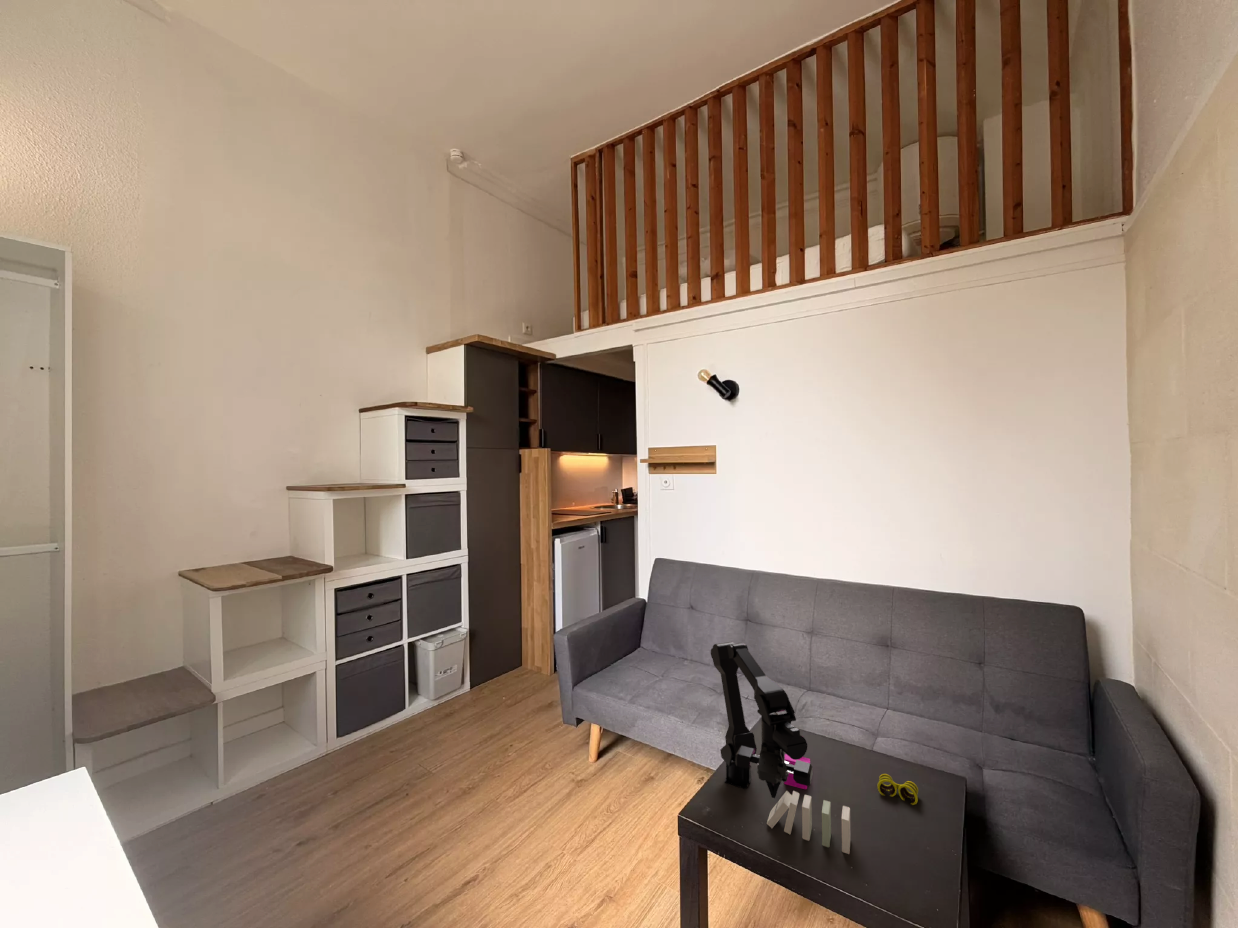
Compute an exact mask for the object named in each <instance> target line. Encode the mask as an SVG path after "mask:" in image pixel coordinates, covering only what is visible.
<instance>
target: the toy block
mask: <svg viewBox="0 0 1238 928" xmlns="http://www.w3.org/2000/svg"><path fill="white" fill-rule="evenodd" d="M798 760H799V761H803V762H807V763H810V764H811V758H808V757H804V756H803V757H802V758H800V759H798ZM785 761H786V762H789V764H791V765H795V763H796V760H794V759H792V758H790V757H789V756H788V755H787V754H786V753H785ZM783 784H784V785H787V786H790V787H795V788H799V789H803V790H807V789H808V786H806V785H802V784H799V783H796V782H795V780H794V779H793V774H791V773H789V775H788V778H787V781H786V782H783Z"/></svg>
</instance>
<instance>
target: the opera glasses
mask: <svg viewBox="0 0 1238 928" xmlns="http://www.w3.org/2000/svg"><path fill="white" fill-rule="evenodd" d="M878 778H879V779H878V782H877V785H876V786H877V790H878V793H879V794H880V795H881V796H885V793H886V792H888V793H889V794H890V795H889V797H895V796H896V795H897V792H898V796H899V797H900V799H901V800H902V801H904V802H906V799H907V798H908V799H910V801H911V803H910V805H912V806H914V805H917V803H918V800H919V797H918V794H919V787H918V785H917V784H915V782H913V781H911V780H910V781H909V780H907V781H905V782H904V783H903V784H899V783H896V782H895V781H894V780H893V778H892V776H891V775H889V774H887V773H882V774H881V775H879V777H878ZM885 783H890V784H885ZM909 790H910V791H909Z"/></svg>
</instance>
